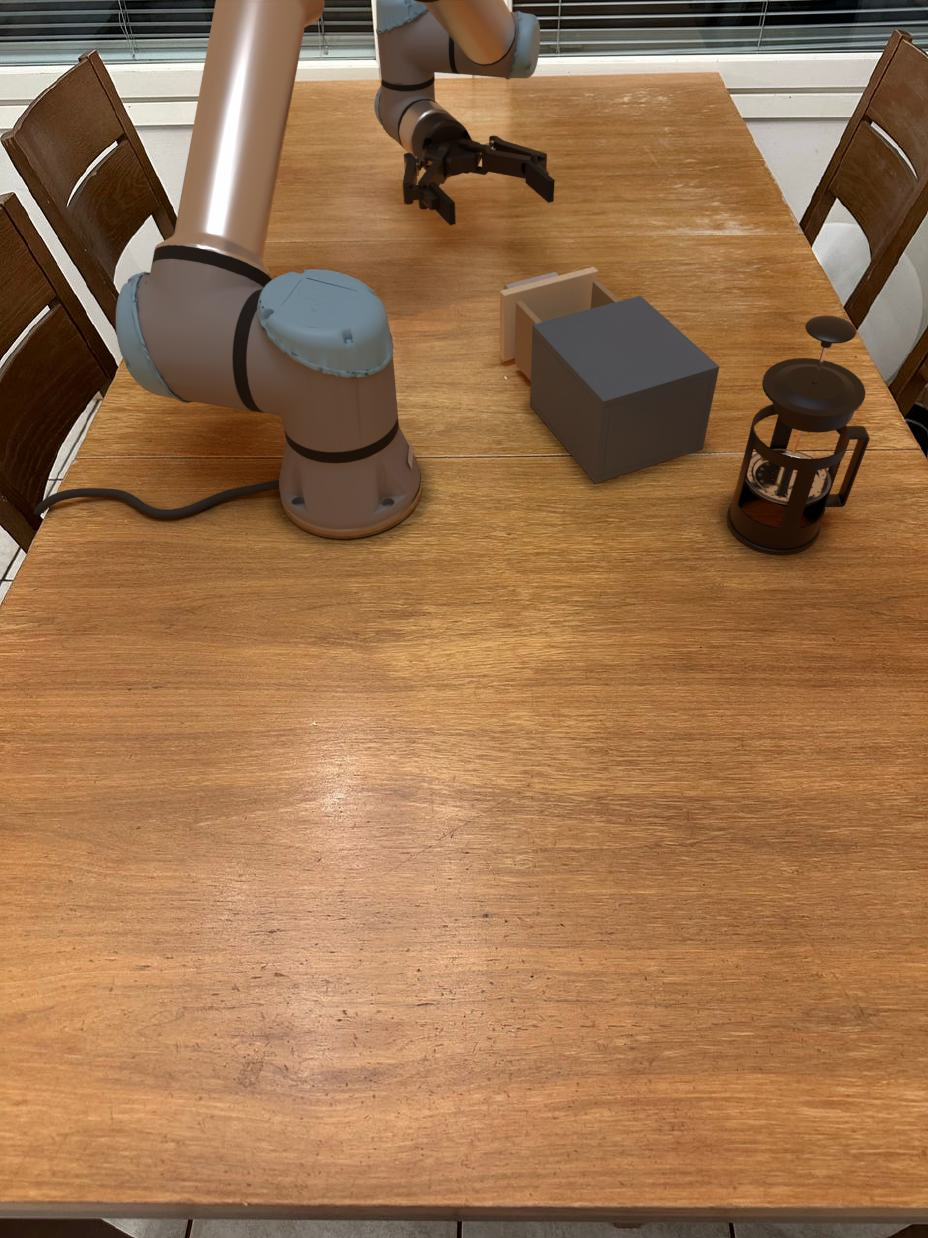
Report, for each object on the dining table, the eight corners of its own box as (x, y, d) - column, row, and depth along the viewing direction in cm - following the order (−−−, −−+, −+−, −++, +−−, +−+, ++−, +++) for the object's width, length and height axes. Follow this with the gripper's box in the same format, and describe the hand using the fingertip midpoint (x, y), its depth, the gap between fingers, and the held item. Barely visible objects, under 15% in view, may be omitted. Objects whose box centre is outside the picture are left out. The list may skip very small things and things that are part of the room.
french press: (727, 555, 95) (779, 356, 78) (713, 493, 101) (758, 296, 84) (846, 555, 95) (924, 355, 77) (824, 493, 101) (892, 295, 84)
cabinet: (529, 405, 112) (532, 324, 104) (630, 375, 116) (640, 294, 108) (595, 484, 103) (603, 401, 95) (702, 449, 106) (719, 366, 98)
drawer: (483, 337, 121) (482, 271, 114) (570, 313, 124) (574, 248, 117) (554, 420, 109) (557, 353, 102) (648, 392, 112) (658, 325, 105)
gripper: (516, 151, 136) (588, 211, 123) (353, 186, 130) (411, 253, 117) (517, 94, 131) (593, 151, 117) (347, 128, 124) (407, 192, 111)
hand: (502, 202), depth 117 cm, fingers open, 13 cm apart
